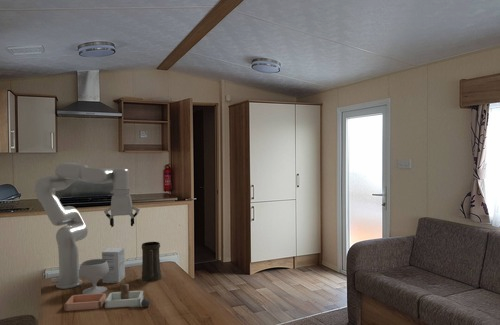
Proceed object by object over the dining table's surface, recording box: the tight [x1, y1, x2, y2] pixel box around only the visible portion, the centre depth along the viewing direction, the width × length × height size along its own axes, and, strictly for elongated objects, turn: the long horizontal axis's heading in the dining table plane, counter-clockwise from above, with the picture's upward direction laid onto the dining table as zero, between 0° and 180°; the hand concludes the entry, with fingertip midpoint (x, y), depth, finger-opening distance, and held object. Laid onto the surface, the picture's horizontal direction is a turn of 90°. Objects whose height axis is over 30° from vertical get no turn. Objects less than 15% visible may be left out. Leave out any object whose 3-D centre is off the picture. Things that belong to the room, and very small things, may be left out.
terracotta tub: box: [64, 292, 107, 312], centre depth 176 cm, size 15×11×4 cm
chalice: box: [79, 258, 109, 294], centre depth 194 cm, size 14×14×15 cm
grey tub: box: [104, 290, 145, 309], centre depth 178 cm, size 15×11×4 cm
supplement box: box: [101, 247, 126, 284], centre depth 212 cm, size 10×9×17 cm
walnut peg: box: [120, 283, 130, 300], centre depth 178 cm, size 4×4×8 cm
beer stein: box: [141, 241, 162, 283], centre depth 211 cm, size 15×11×20 cm
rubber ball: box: [141, 298, 151, 308], centre depth 174 cm, size 4×4×4 cm
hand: (122, 226), depth 197 cm, fingers open, 9 cm apart
